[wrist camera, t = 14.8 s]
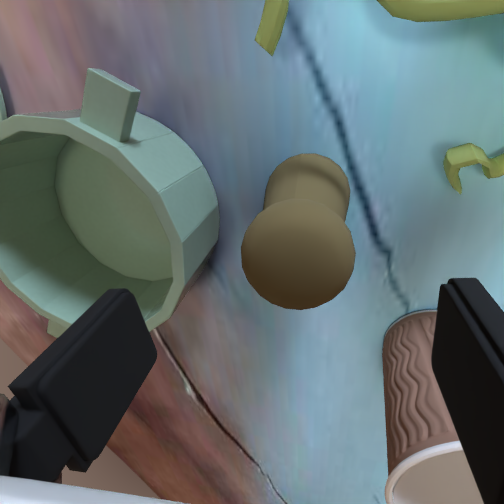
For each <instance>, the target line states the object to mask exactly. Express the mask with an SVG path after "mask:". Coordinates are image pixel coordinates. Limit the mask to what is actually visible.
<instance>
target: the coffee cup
mask: <svg viewBox="0 0 504 504" xmlns="http://www.w3.org/2000/svg"><path fill="white" fill-rule="evenodd" d="M436 315H437V310H421V311H417V312H413V313H410V314H407V315H405V316H403V317H401V318H400V319H398V320H396V321H395V322H394V323H393V324H392V325H391V326H390V327H389V329H388V330H387V332H386V334H385V337H384V343H383V349H382V351H383V353H382V359H383V375H384V397H385V418H386V437H387V458H388V479H387V482H386V486H385V499H386V502H387V504H484V502H483V500H482V497H481V495H480V492H479V490H478V487H477V484H476V482H475V479H474V477H473V474H472V471H471V469H470V466H469V464H468V461H467V458H466V456H465V453H464V451H463V448H462V446H461V443H460V440H459V438H458V435H457V433H456V430H455V427H454V425H453V422H452V420H451V417H450V414H449V412H448V409H447V407H446V404H445V401H444V399H443V396H442V394H441V391H440V388H439V386H438V383H437V381H436V378H435V375H434V373H433V370H432V365H431V355H432V347H433V339H434V331H435V323H436ZM392 492H393V495H392ZM393 498H394V501H393Z"/></svg>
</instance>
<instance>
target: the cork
mask: <svg viewBox="0 0 504 504" xmlns="http://www.w3.org/2000/svg"><path fill="white" fill-rule="evenodd" d="M349 199H350V187H349V183H348V179H347V177H346V175H345V173H344V172H343V170H342V169H341V167H340V166H339V165H337V164H336V163H335V162H333V161H332V160H331V159H330V158H327V157H324V156H321V155H318V154H299V155H296V156H293V157H290V158H288V159H286V160H285V161H284V162H282V163H281V164H280V165H278V166H277V167H276V169H275V170H274V172H273V173H272V174H271V176H270V178H269V181H268V184H267V187H266V193H265V200H264V208H263V211H262V212H260V213H259V214H258V215H257V216H256V217H255V219H254V220H253V222H252V223H251V224H250V226H249V227H248V229H247V230H246V232H245V235H244V239H243V242H242V246H241V257H242V268H243V271H244V273H245V275H246V278H247V280H248V282H249V283H250V284H251V285H252V287H253V288H254V289H255V290H256V291H257V293H258V294H259V295H260V296H261V297H263V298H264V299H266V300H267V301H269V302H270V303H272V304H274V305H277V306H280V307H283V308H286V309H296V310H303V309H310V308H315V307H318V306H320V305H322V304H324V303H326V302H328V301H330V300H332V299H333V298H334V297H336V296H337V295H338V294H339V293H340V292H341V291H342V290H343V289H344V288H345V286H346V284H347V282H348V281H349V279H350V277H351V275H352V272H353V269H354V262H355V254H356V253H355V248H354V244H353V240H352V236H351V232H350V230H349V229H348V227H347V226H346V224H345V220H346V215H347V210H348V206H349Z"/></svg>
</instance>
